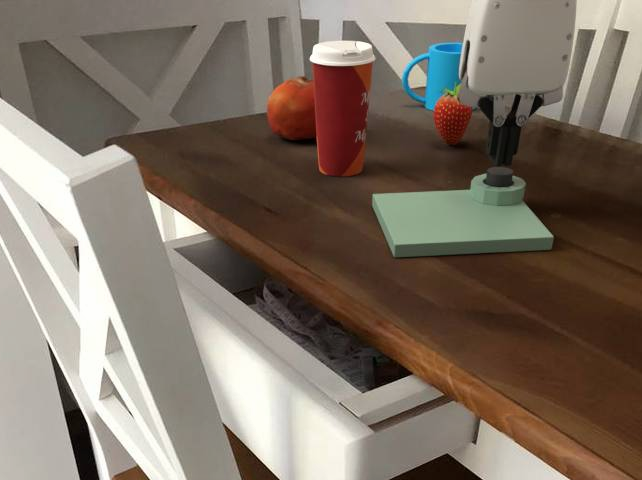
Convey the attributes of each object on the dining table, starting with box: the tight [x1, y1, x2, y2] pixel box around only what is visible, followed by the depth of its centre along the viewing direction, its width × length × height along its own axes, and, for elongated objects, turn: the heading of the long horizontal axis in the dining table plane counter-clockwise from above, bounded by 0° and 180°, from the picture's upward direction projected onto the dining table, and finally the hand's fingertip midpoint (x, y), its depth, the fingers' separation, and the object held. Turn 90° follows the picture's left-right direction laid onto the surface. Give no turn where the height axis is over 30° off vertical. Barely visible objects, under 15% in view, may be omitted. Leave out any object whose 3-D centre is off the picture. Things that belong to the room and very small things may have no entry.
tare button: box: [485, 166, 514, 188], centre depth 80 cm, size 3×3×2 cm
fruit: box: [432, 82, 474, 146], centre depth 98 cm, size 5×5×8 cm
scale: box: [371, 173, 555, 258], centre depth 78 cm, size 16×14×3 cm
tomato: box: [266, 75, 317, 141], centre depth 102 cm, size 9×9×8 cm
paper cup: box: [309, 40, 377, 178], centre depth 89 cm, size 8×8×14 cm
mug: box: [401, 42, 476, 112], centre depth 114 cm, size 12×8×8 cm
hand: (499, 161), depth 79 cm, fingers closed
